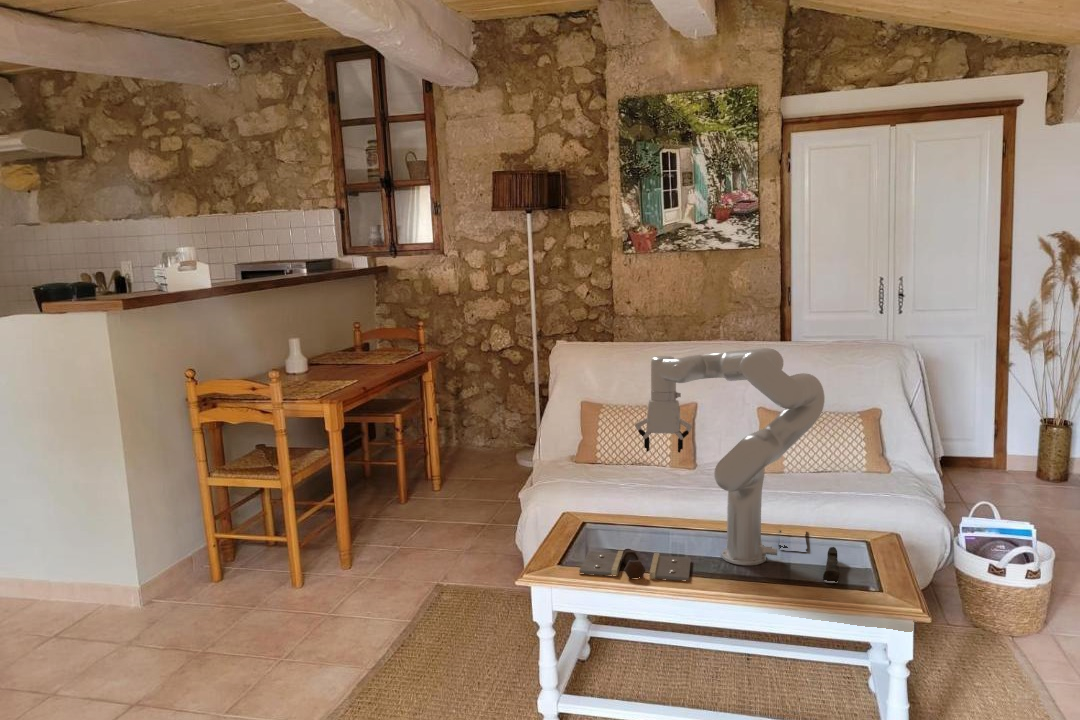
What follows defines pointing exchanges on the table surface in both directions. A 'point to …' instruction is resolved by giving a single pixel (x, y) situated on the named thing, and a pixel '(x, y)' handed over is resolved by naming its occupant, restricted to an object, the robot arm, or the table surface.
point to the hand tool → (831, 566)
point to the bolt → (632, 564)
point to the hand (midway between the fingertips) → (663, 451)
